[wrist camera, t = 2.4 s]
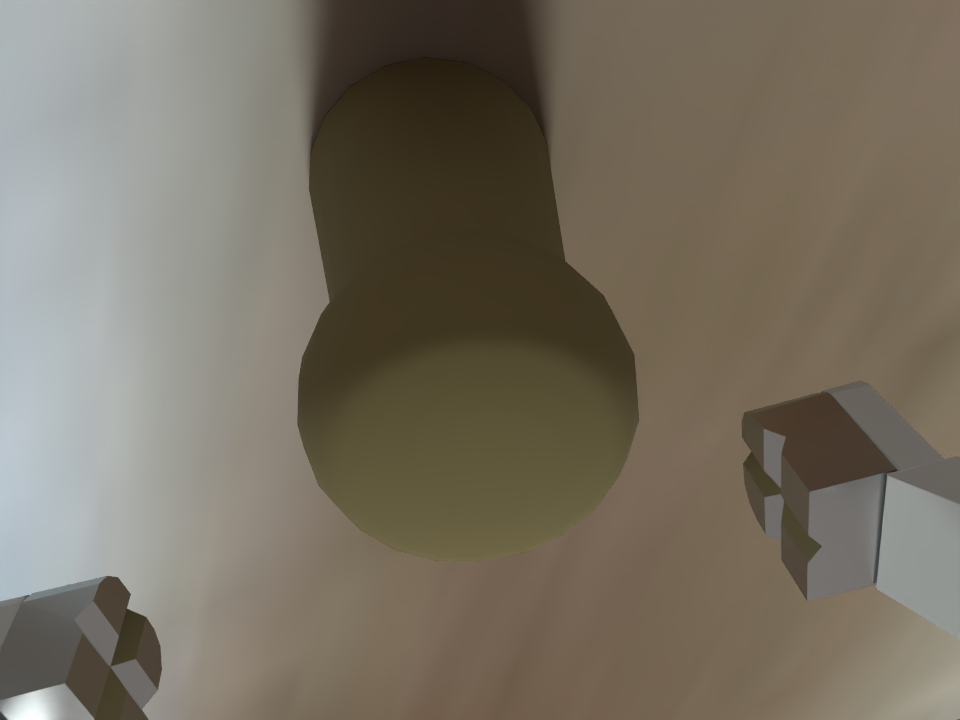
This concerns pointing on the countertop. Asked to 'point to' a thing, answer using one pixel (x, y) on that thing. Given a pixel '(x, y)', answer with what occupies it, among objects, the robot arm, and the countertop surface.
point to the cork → (455, 325)
